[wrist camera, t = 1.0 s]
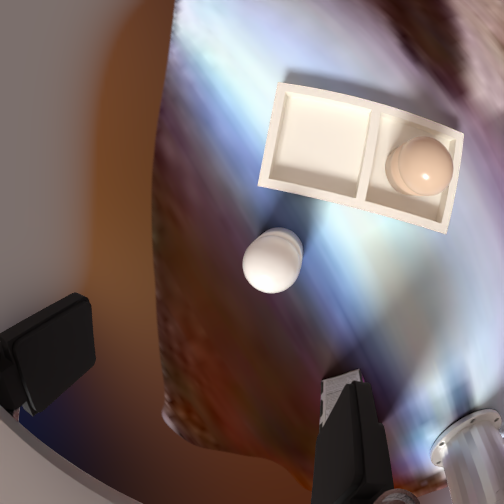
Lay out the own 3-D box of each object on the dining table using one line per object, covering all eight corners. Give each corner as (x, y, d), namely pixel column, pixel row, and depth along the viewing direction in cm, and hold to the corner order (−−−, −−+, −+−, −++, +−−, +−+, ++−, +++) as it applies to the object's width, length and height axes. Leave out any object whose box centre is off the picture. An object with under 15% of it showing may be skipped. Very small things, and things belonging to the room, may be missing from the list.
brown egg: (433, 153, 22) (466, 142, 15) (425, 201, 23) (458, 204, 16) (388, 139, 23) (411, 122, 16) (381, 188, 24) (402, 186, 17)
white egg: (308, 233, 27) (305, 249, 20) (297, 279, 28) (290, 308, 21) (260, 222, 28) (241, 234, 21) (251, 268, 29) (231, 293, 22)
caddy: (455, 136, 21) (463, 133, 19) (438, 231, 24) (446, 234, 22) (280, 89, 24) (277, 82, 22) (261, 185, 27) (257, 185, 25)
